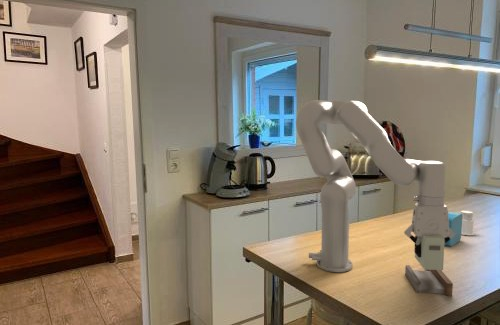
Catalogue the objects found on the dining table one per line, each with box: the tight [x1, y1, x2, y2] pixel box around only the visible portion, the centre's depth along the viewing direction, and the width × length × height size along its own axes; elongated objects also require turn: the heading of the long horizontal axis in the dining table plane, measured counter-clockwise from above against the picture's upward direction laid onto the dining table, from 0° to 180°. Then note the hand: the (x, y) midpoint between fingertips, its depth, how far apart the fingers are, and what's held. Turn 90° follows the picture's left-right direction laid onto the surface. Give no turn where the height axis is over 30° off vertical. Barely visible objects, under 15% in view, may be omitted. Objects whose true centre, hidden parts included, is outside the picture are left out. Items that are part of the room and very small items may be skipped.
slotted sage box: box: [414, 236, 445, 271], centre depth 121 cm, size 6×10×10 cm, turn 172°
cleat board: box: [404, 264, 454, 297], centre depth 124 cm, size 10×20×4 cm, turn 172°
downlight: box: [460, 210, 475, 236], centre depth 170 cm, size 8×7×10 cm
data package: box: [444, 211, 462, 247], centre depth 159 cm, size 12×4×12 cm, turn 133°
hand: (428, 255), depth 121 cm, fingers closed on slotted sage box, 5 cm apart
